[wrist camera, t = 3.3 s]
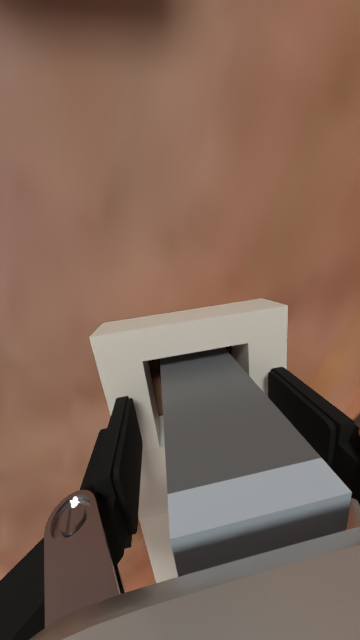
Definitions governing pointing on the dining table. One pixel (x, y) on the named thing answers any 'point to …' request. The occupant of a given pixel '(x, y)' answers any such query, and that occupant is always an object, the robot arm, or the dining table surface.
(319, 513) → the plug
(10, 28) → the dining table surface
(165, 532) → the jack panel
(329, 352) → the dining table surface
